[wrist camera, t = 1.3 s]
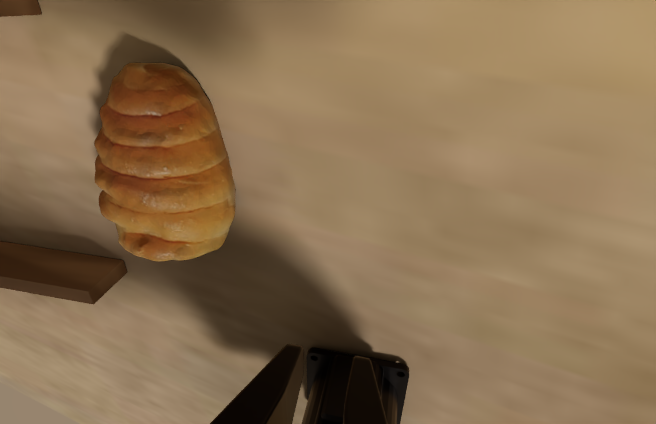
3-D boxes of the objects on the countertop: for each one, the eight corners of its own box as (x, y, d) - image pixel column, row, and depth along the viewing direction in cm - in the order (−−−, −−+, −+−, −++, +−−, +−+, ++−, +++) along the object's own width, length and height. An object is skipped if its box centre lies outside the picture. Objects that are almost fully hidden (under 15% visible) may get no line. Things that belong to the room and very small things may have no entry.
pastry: (102, 49, 18) (32, 62, 14) (239, 68, 17) (197, 87, 13) (137, 218, 22) (90, 256, 19) (244, 239, 22) (214, 283, 18)
